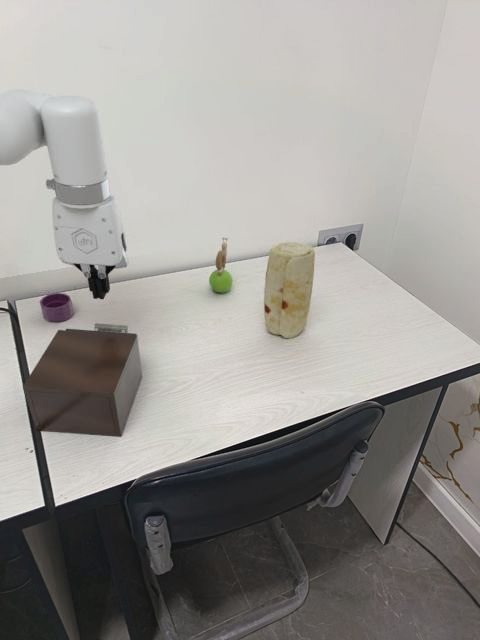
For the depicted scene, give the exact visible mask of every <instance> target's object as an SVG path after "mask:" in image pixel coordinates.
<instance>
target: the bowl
mask: <svg viewBox="0 0 480 640" xmlns="http://www.w3.org/2000/svg"><path fill="white" fill-rule="evenodd" d="M39 305H40V306H39V307H40V309H41V313H42V317H43V319H44V320H46V321H47V322H51V323H60V322H61V323H62V322H64V321H67V320H69V319H70V318H71V317H72V316H73V314H74V307H73V302H72V298H71V296H70V295H69V294H66V293H61V292H54V293H49V294H47V295H45V296H43V297H41V299H40V300H39Z"/></svg>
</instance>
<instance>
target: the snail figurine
mask: <svg viewBox="0 0 480 640" xmlns="http://www.w3.org/2000/svg"><path fill="white" fill-rule="evenodd" d="M221 239H222V243H221V250H219V251H218V252H217V254H216V258H215V267H216V269H215V270H213V271H212V272H211V274H210V275H209V277H208V284H209V287H210V288H211V289H212V290H213V291H214V292H216V293H219V294H221V293H226V292H227V291H229V290H230V289H231V288H232V286H233V281H234V280H233V276H232V274H231V272H229V271H228V270H227V269H225V268H226V263H227V254H228V252H227V250H228V244H227V241H228V237H224V236H223V237H222V238H221ZM224 241H225V242H224Z"/></svg>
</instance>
